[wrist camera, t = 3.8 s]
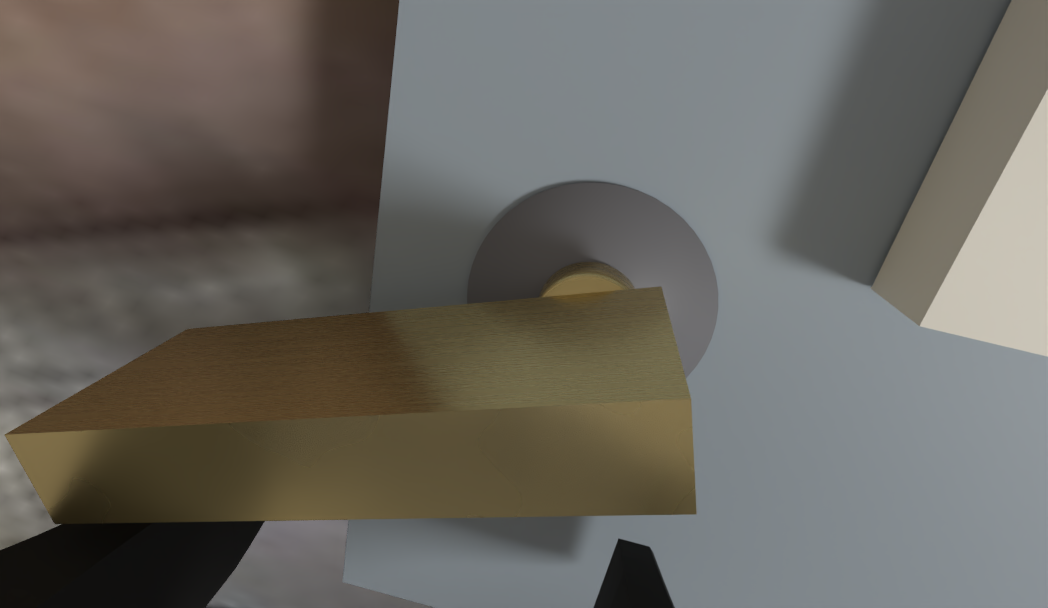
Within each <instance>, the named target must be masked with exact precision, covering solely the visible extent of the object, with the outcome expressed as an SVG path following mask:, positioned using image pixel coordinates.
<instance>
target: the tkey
mask: <svg viewBox="0 0 1048 608" xmlns="http://www.w3.org/2000/svg"><path fill="white" fill-rule="evenodd" d="M5 436H6V438H7V440H8V442H9V444H10V445H11V447H12V449H13V451H14V452H15V454H16V456H17V458H18V459H19V461H20V463H21V465H22V467H23V468H24V470H25V472H26V474H27V475H28V477H29V479H30V481H31V483H32V484H33V486H34V488H35V490H36V491H37V493H38V495H39V497H40V498H41V500H42V502H43V504H44V506H45V507H46V509H47V511H48V513H49V514H50V516H51V518H52V520H53V522H54V523H55V524H84V523H151V522H219V521H286V520H354V519H421V518H489V517H557V516H624V515H692V514H697V511H696V490H695V469H694V448H693V427H692V406H691V396H690V393H689V389H688V385H687V381H686V377H685V374H684V370H683V366H682V362H681V359H680V355H679V351H678V347H677V343H676V340H675V336H674V332H673V328H672V325H671V321H670V317H669V313H668V310H667V306H666V302H665V298H664V294H663V291H662V287H661V286H660V287H649V288H638V289H635V287H634V286H633V284H632V283H631V281H630V280H629V279H628V278H627V277H626V276H625V275H624V274H623V273H621V272H620V271H618V270H617V269H615V268H613V267H611V266H608V265H606V264H602V263H598V262H579V263H574V264H571V265H568V266H566V267H564V268H562V269H560V270H559V271H557V272H556V273H555V274H553V275H552V276H551V277H550V278H549V279H548V280H547V282H546V283H545V285H544V286H543V288H542V290H541V292H540V295H539V297H538V298H527V299H516V300H505V301H494V302H482V303H471V304H460V305H449V306H438V307H427V308H416V309H405V310H394V311H383V312H372V313H361V314H349V315H338V316H327V317H316V318H305V319H294V320H283V321H272V322H261V323H250V324H239V325H227V326H216V327H205V328H194V329H187V330H185V331H183V332H182V333H180V334H178V335H176V336H175V337H173V338H171V339H170V340H168V341H166V342H164V343H163V344H161V345H159V346H157V347H156V348H154V349H152V350H150V351H149V352H147V353H145V354H144V355H142V356H140V357H138V358H137V359H135V360H133V361H131V362H130V363H128V364H126V365H125V366H123V367H121V368H119V369H118V370H116V371H114V372H112V373H111V374H109V375H107V376H105V377H104V378H102V379H100V380H99V381H97V382H95V383H93V384H92V385H90V386H88V387H86V388H85V389H83V390H81V391H80V392H78V393H76V394H74V395H73V396H71V397H69V398H67V399H66V400H64V401H62V402H60V403H59V404H57V405H55V406H54V407H52V408H50V409H48V410H47V411H45V412H43V413H41V414H40V415H38V416H36V417H35V418H33V419H31V420H29V421H28V422H26V423H24V424H22V425H21V426H19V427H17V428H15V429H14V430H12V431H10V432H9V433H7V434H5Z"/></svg>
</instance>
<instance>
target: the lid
mask: <svg viewBox="0 0 1048 608" xmlns="http://www.w3.org/2000/svg"><path fill="white" fill-rule="evenodd" d="M871 289H872V290H873V291H874V292H876V293H877V294H878V295H879V296H881V297H882V298H883V299H885V300H886V301H887V302H889V303H890V304H891V305H892V306H894V307H895V308H896V309H898V310H899V311H900V312H901V313H903V314H904V315H905V316H907V317H908V318H909V319H911V320H912V321H913V322H914V323H916V324H917V325H918V326H920V327H925V328H929V329H933V330H937V331H942V332H946V333H950V334H954V335H958V336H963V337H967V338H971V339H975V340H980V341H984V342H988V343H992V344H996V345H1001V346H1005V347H1009V348H1013V349H1018V350H1022V351H1026V352H1030V353H1034V354H1039V355H1043V356H1047V357H1048V0H1011V2H1010V4H1009V6H1008V8H1007V11H1006V13H1005V15H1004V17H1003V19H1002V21H1001V23H1000V25H999V27H998V29H997V31H996V33H995V35H994V37H993V39H992V41H991V43H990V45H989V47H988V49H987V52H986V54H985V56H984V58H983V60H982V62H981V64H980V66H979V68H978V70H977V72H976V74H975V76H974V78H973V80H972V82H971V84H970V86H969V88H968V90H967V93H966V95H965V97H964V99H963V101H962V103H961V105H960V107H959V109H958V111H957V113H956V115H955V117H954V119H953V121H952V123H951V125H950V127H949V129H948V132H947V134H946V136H945V138H944V140H943V142H942V144H941V146H940V148H939V150H938V152H937V154H936V156H935V158H934V160H933V162H932V164H931V166H930V168H929V170H928V173H927V175H926V177H925V179H924V181H923V183H922V185H921V187H920V189H919V191H918V193H917V195H916V197H915V199H914V201H913V203H912V205H911V207H910V209H909V211H908V214H907V216H906V218H905V220H904V222H903V224H902V226H901V228H900V230H899V232H898V234H897V236H896V238H895V240H894V242H893V244H892V246H891V248H890V250H889V252H888V255H887V257H886V259H885V261H884V263H883V265H882V267H881V269H880V271H879V273H878V275H877V277H876V279H875V281H874V283H873V285H872V287H871Z"/></svg>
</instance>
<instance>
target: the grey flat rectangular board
mask: <svg viewBox="0 0 1048 608" xmlns="http://www.w3.org/2000/svg"><path fill="white" fill-rule="evenodd" d="M1010 2H1011V0H399V10H398V20H397V31H396V41H395V51H394V61H393V72H392V82H391V92H390V102H389V112H388V123H387V133H386V143H385V153H384V163H383V174H382V184H381V194H380V204H379V214H378V225H377V235H376V245H375V255H374V266H373V276H372V286H371V296H370V306H369V313H372V312H383V311H394V310H405V309H416V308H427V307H438V306H449V305H460V304H471V303H482V302H494V301H505V300H516V299H527V298H538V297H539V295H540V292H541V290H542V288H543V286H544V285H545V283H546V282H547V280H548V279H549V278H550V277H551V276H552V275H553V274H555V273H556V272H557V271H559V270H560V269H562V268H564V267H566V266H568V265H571V264H574V263H579V262H598V263H602V264H606V265H608V266H611V267H613V268H615V269H617V270H618V271H620V272H621V273H623V274H624V275H625V276H626V277H627V278H628V279H629V280H630V281H631V283H632V284H633V286H634V287H635V289H638V288H649V287H660V286H661V287H662V291H663V294H664V298H665V302H666V306H667V310H668V313H669V317H670V321H671V325H672V328H673V332H674V336H675V340H676V343H677V347H678V351H679V355H680V359H681V362H682V366H683V370H684V374H685V377H686V381H687V385H688V389H689V393H690V396H691V406H692V427H693V448H694V469H695V490H696V511H697V514H692V515H624V516H557V517H489V518H421V519H354V520H349V521H348V531H347V541H346V551H345V562H344V572H343V582H344V583H348V584H351V585H355V586H358V587H362V588H366V589H369V590H373V591H376V592H380V593H384V594H387V595H391V596H394V597H398V598H402V599H405V600H409V601H412V602H416V603H420V604H423V605H427V606H430V607H434V608H593V607H594V605H595V602H596V599H597V596H598V594H599V591H600V588H601V585H602V583H603V580H604V577H605V574H606V572H607V569H608V566H609V563H610V560H611V558H612V555H613V552H614V549H615V547H616V544H617V541H618V538H619V539H623V540H627V541H630V542H634V543H638V544H642V545H645V546H649V547H650V548H651V550H652V551H653V553H654V556H655V559H656V561H657V564H658V567H659V569H660V572H661V574H662V577H663V580H664V582H665V585H666V587H667V590H668V592H669V595H670V597H671V600H672V602H673V604H674V607H675V608H1048V357H1047V356H1043V355H1039V354H1034V353H1030V352H1026V351H1022V350H1018V349H1013V348H1009V347H1005V346H1001V345H996V344H992V343H988V342H984V341H980V340H975V339H971V338H967V337H963V336H958V335H954V334H950V333H946V332H942V331H937V330H933V329H929V328H925V327H920V326H918V325H917V324H916V323H914V322H913V321H912V320H911V319H909V318H908V317H907V316H905V315H904V314H903V313H901V312H900V311H899V310H898V309H896V308H895V307H894V306H892V305H891V304H890V303H889V302H887V301H886V300H885V299H883V298H882V297H881V296H879V295H878V294H877V293H876V292H874V291H873V290H872V289H871V287H872V285H873V283H874V281H875V279H876V277H877V275H878V273H879V271H880V269H881V267H882V265H883V263H884V261H885V259H886V257H887V255H888V252H889V250H890V248H891V246H892V244H893V242H894V240H895V238H896V236H897V234H898V232H899V230H900V228H901V226H902V224H903V222H904V220H905V218H906V216H907V214H908V211H909V209H910V207H911V205H912V203H913V201H914V199H915V197H916V195H917V193H918V191H919V189H920V187H921V185H922V183H923V181H924V179H925V177H926V175H927V173H928V170H929V168H930V166H931V164H932V162H933V160H934V158H935V156H936V154H937V152H938V150H939V148H940V146H941V144H942V142H943V140H944V138H945V136H946V134H947V132H948V129H949V127H950V125H951V123H952V121H953V119H954V117H955V115H956V113H957V111H958V109H959V107H960V105H961V103H962V101H963V99H964V97H965V95H966V93H967V90H968V88H969V86H970V84H971V82H972V80H973V78H974V76H975V74H976V72H977V70H978V68H979V66H980V64H981V62H982V60H983V58H984V56H985V54H986V52H987V49H988V47H989V45H990V43H991V41H992V39H993V37H994V35H995V33H996V31H997V29H998V27H999V25H1000V23H1001V21H1002V19H1003V17H1004V15H1005V13H1006V11H1007V8H1008V6H1009V4H1010Z"/></svg>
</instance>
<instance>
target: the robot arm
mask: <svg viewBox="0 0 1048 608" xmlns="http://www.w3.org/2000/svg"><path fill="white" fill-rule="evenodd" d="M263 523H264V521H219V522H151V523H84V524H61V525H59V526H57V527H55V528H53V529H51V530H48V531H46V532H44V533H41V534H39V535H37V536H34V537H32V538H30V539H27V540H25V541H22V542H20V543H18V544H15V545H13V546H10V547H8V548H5V549H3V550H0V608H205V607H206V606H207V604H208V603H209V602H210V601H211V599H212V598H213V597H214V595H215V594H216V593H217V592H218V590H219V589H220V588H221V586H222V585H223V584H224V583H225V581H226V580H227V579H228V577H229V576H230V575H231V574H232V572H233V571H234V570H235V568H236V567H237V565H238V563H239V562H240V560H241V559H242V557H243V556H244V554H245V553H246V551H247V549H248V548H249V546H250V545H251V543H252V541H253V540H254V538H255V536H256V535H257V533H258V531H259V530H260V528H261V526H262V525H263ZM593 608H675V607H674V604H673V602H672V600H671V597H670V595H669V592H668V590H667V587H666V585H665V582H664V580H663V577H662V574H661V572H660V569H659V567H658V564H657V561H656V559H655V556H654V553H653V551H652V550H651V548H650V547H649V546H645V545H642V544H638V543H634V542H630V541H627V540H623V539H619V538H618V541H617V544H616V547H615V549H614V552H613V555H612V558H611V560H610V563H609V566H608V569H607V572H606V574H605V577H604V580H603V583H602V585H601V588H600V591H599V594H598V596H597V599H596V602H595V605H594V607H593Z"/></svg>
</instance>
